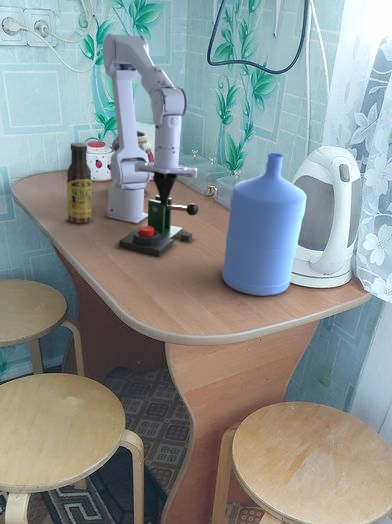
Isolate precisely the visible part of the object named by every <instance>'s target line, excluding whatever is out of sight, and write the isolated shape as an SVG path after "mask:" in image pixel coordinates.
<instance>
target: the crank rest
mask: <svg viewBox="0 0 392 524" xmlns="http://www.w3.org/2000/svg"><path fill="white" fill-rule="evenodd" d="M179 240H180V241H181V242H186V243H190V242H191V241H192V240H193V233H191V232H188V231H183V232H182V233H181V234H180V237H179Z"/></svg>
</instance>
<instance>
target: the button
mask: <svg viewBox="0 0 392 524" xmlns="http://www.w3.org/2000/svg"><path fill="white" fill-rule="evenodd" d="M139 227H140V228H139ZM139 227H138V228H139V235H140V236H144V237H151V236H154V228H153V227H151V226H142V225H141V226H139Z"/></svg>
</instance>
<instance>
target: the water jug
mask: <svg viewBox="0 0 392 524" xmlns="http://www.w3.org/2000/svg"><path fill="white" fill-rule="evenodd" d="M284 157H285V156H284V154H281V153H278V152H269V153H267V161H266V164H265V166H266V167H265V172H264V173H263V174H261V175H258V176H254V177H251V178H248V179H244V180H242V181H238V182H237V183H236V184H234V186H233V188H232V194H231V197H230V204H229V205H230V211H229V217H228V227H227V232H226V238H225V252H224V260H223V265H222V270H221V277H222V279H223V281H224V283H225V284H226V285H227V286H229V287H230V288H231V289H234V290H235V291H237V292H240V293H243V294H246V295H252V296H259V297H260V296H261V297H269V296H274V295H275V296H276V295H278V294H281V293H283V292H285V291H286V290H287V289H288V288H289V286H290V284H291V281H292V272H293V267H294V263H295V257H296V254H297V250H298V244H299V238H300V233H301V228H302V224H303V223H302V222H303V219H304V216H305V212H306V204H307V203H306V202H307V194H306V192H305V191H304V190H303V189H301V188H300V187H298V186H297V185H295V184H293V183H292V182H290V181H289V180H287V179H285V178H284V177H282V175H281V174H282V173H281V171H282V168H283V159H284Z"/></svg>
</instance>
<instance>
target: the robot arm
mask: <svg viewBox="0 0 392 524" xmlns="http://www.w3.org/2000/svg"><path fill="white" fill-rule="evenodd" d="M102 58H103V67H104V70H105V74H106V75H107V76H108V77H110V80H111V86H112V94H113V102H114V103H113V104H114V110H115V119H116V120H115V121H116V129H117V136H118V137H119V146H120V147H119V149H118V150H117V151H116V152H115V151H114V153H112V155H111V156H110V169H109V170H110V177H111V178H110V179H111V180H112V183H111V184H110V186H109V187H108V191H107V215H106V217H107V218H111V219H114V220H118V221H123V222H128V223H130V224H131V223H132V224H138V223H140V222H141V221H142V220H145V219H146V218H148V212H144V204H145V203H144V202H145V201H144V200H145V196H144V190H145V188H146V187H147V184H148V183H149V182H150V180H151V178H152V179H153V182H154V184H155V187H156V189H157V192H158V195H159V196H160V201H161V205H162V206H167V204H168V199H169V198H170V195H171V192H172V189H173V187H174V184H175V183H176V180H177V178H178V177H183V178H190V179H193V180H196V179H197V176H198V168H196V167H190V166H187V165H181V164H179V163H180V161H179V159H180V147H181V146H180V145H181V144H180V143H181V130H182V129H181V128H182V117H184V116H185V115H186V113H187V110H188V97H187V93H186V92H185V89H184V88H183V87H181V86H179V87H178V86H174V84H173V82H172V81H171V80H170V78H169V77H168V75H167V74H166V72H165V71H164V70H163V68H162V66H158V65H157V66H156V65H154V63H153V60H152V58H151V57H150V55H149V43H148V41H147V39H146V38H145V36H144V35H125V34H124V35H123V34H112V33H107V34H106V35H105V37H104V39H103V43H102ZM139 75H140V85H141V87H142V88H143V89H144V91H145V93H146V94H147V95H148V97H149V99H150V107H151V110H152V121H153V124H154V151H153V161H150V160H149V156H148V155H147V154H146V153H145V152H144V151H143V150H142V149H140V148H139V147H138V139H137V131H138V130H137V122H136V121H137V120H136V113H135V103H134V94H133V93H134V92H133V83H132V81H133V79H134V78H135V77H137V76H139ZM133 158H134V159H137V160H129V161H121V160H122V159H133ZM152 174H153V177H152Z"/></svg>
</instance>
